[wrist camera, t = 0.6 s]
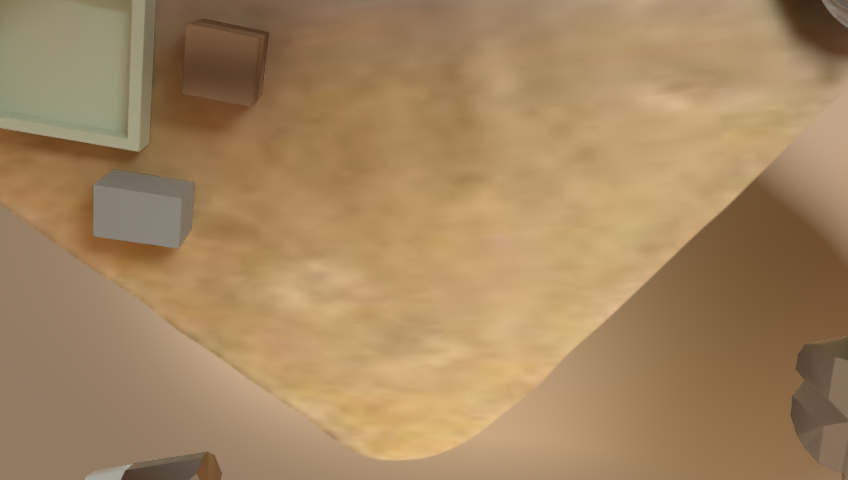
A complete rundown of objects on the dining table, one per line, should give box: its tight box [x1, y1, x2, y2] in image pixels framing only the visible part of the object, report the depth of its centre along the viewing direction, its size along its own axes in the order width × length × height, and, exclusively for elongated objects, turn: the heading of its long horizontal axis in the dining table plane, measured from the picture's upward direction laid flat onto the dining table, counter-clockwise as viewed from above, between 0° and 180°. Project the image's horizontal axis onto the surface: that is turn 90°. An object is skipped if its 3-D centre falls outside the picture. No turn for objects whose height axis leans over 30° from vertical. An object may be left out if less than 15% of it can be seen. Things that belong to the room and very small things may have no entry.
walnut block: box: [182, 19, 269, 107], centre depth 42 cm, size 4×4×5 cm
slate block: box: [93, 169, 195, 249], centre depth 46 cm, size 4×6×4 cm, turn 78°
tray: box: [0, 0, 156, 152], centre depth 42 cm, size 11×11×2 cm
